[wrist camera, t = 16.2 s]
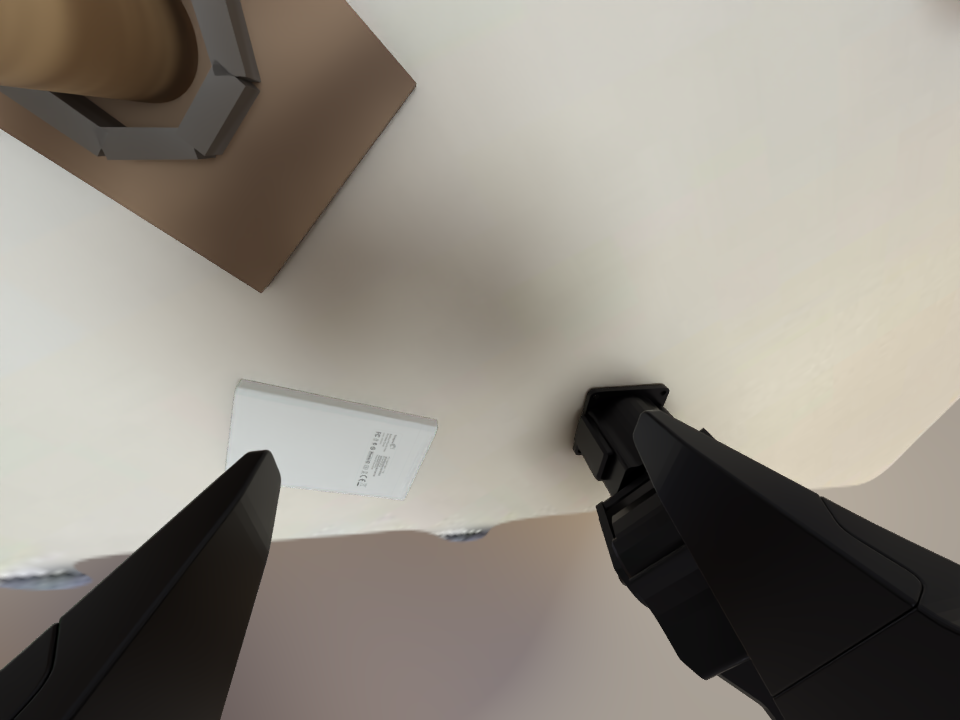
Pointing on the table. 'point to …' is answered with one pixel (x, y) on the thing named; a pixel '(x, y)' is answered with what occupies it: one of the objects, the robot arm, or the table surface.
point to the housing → (232, 130)
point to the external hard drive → (329, 440)
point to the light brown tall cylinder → (98, 48)
